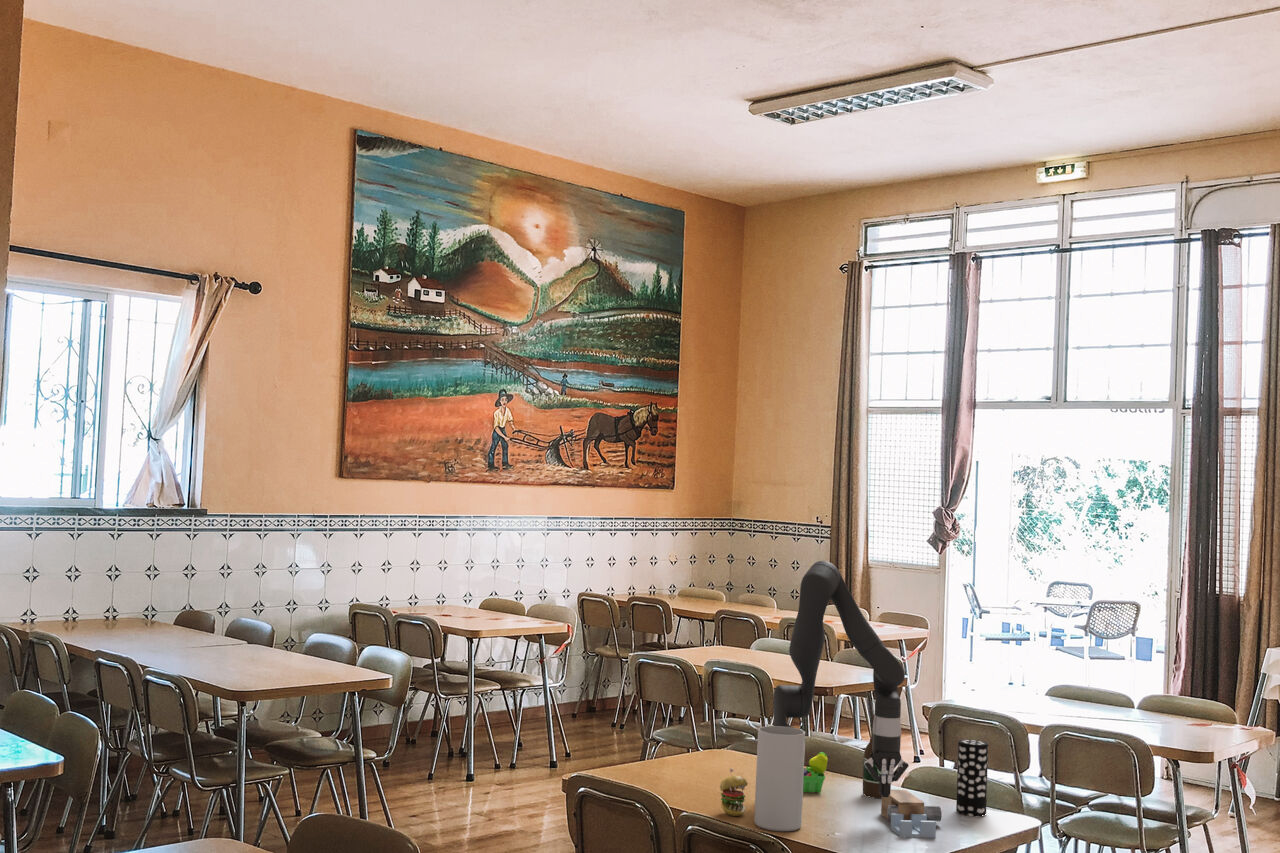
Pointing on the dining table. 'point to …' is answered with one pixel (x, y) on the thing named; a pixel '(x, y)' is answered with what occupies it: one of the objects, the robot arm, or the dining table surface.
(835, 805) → the dining table surface
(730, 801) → the hamburger
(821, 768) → the fruit basket
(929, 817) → the axle
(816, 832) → the dining table surface
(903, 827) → the cradle
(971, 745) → the spotted tube
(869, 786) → the beer bottle
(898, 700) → the robot arm
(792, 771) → the cylinder vase
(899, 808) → the beam
